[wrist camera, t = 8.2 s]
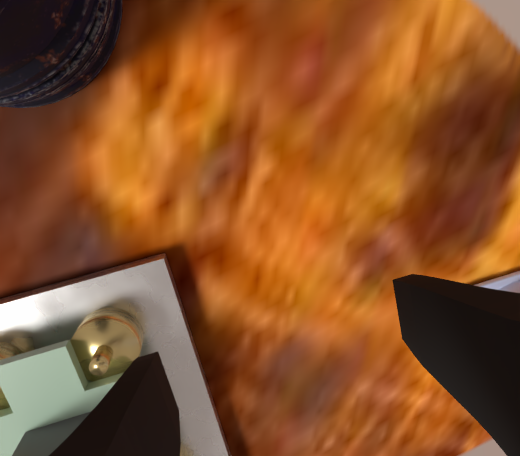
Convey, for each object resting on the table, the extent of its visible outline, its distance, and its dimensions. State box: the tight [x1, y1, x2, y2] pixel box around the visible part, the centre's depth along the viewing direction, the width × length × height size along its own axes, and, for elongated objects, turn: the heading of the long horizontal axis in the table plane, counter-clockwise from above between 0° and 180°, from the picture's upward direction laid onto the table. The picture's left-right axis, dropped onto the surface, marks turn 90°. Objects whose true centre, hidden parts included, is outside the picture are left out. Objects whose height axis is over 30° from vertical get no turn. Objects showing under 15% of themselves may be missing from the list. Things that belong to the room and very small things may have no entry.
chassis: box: [0, 253, 231, 456], centre depth 20 cm, size 13×16×4 cm
